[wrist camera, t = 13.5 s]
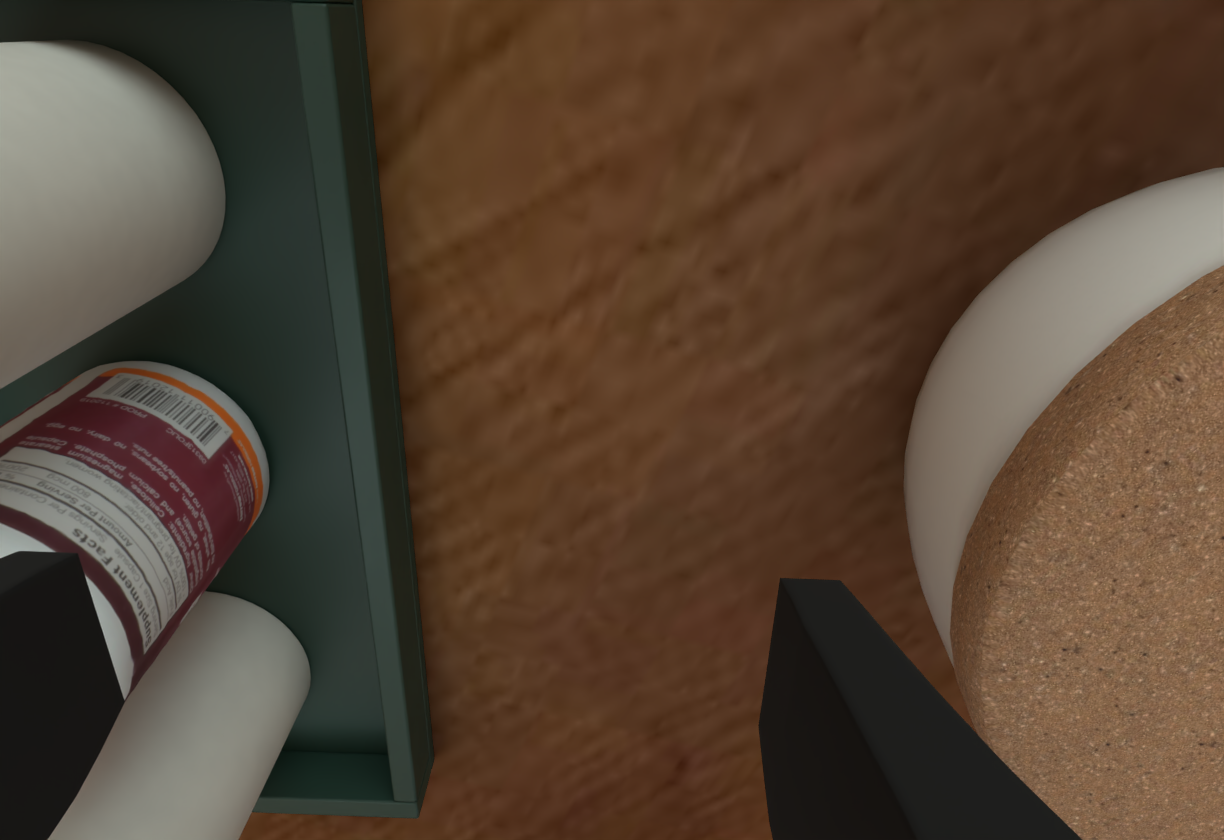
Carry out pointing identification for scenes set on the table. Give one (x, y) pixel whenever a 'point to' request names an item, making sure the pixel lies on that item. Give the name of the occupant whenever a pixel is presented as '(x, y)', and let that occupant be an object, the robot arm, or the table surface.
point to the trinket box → (1088, 513)
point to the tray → (289, 365)
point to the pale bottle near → (94, 194)
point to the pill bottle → (133, 494)
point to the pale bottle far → (196, 731)
